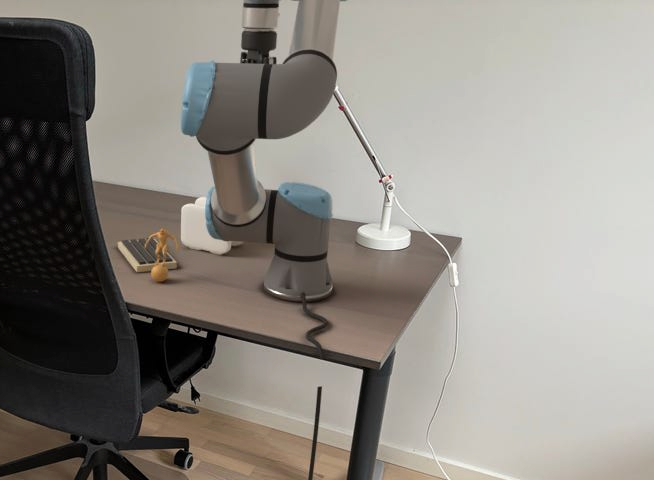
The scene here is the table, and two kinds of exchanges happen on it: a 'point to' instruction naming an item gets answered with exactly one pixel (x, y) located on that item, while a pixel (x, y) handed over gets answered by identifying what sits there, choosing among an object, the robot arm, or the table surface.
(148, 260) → the keyboard
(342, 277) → the table surface
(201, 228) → the cable organizer
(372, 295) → the table surface
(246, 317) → the table surface
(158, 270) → the figurine
